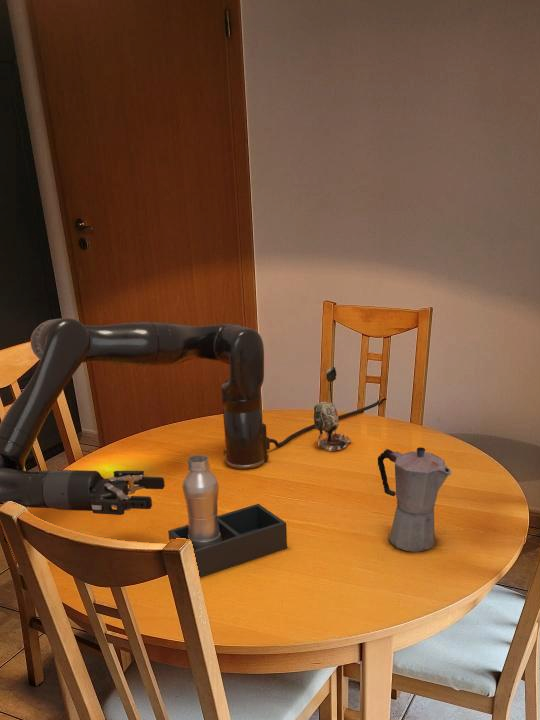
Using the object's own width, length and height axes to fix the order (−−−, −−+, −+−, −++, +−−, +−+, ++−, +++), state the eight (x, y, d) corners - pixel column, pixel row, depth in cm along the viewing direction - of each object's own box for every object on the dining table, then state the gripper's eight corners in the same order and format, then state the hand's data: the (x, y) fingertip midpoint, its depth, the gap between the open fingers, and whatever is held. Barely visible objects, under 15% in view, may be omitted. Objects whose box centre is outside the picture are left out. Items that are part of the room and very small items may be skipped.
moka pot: (437, 561, 148) (443, 463, 139) (363, 542, 155) (364, 447, 146) (456, 540, 155) (463, 445, 146) (384, 523, 162) (387, 431, 153)
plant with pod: (304, 447, 201) (302, 370, 192) (337, 436, 207) (337, 361, 198) (324, 456, 195) (324, 377, 186) (358, 445, 201) (359, 368, 192)
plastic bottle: (188, 548, 153) (179, 452, 144) (223, 546, 154) (216, 450, 145) (187, 565, 147) (177, 466, 138) (223, 563, 148) (216, 464, 139)
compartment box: (170, 556, 152) (168, 530, 150) (259, 528, 162) (258, 503, 159) (195, 579, 144) (192, 552, 142) (287, 548, 154) (286, 522, 151)
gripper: (55, 488, 140) (144, 490, 138) (84, 457, 152) (166, 459, 150) (62, 525, 143) (149, 528, 141) (89, 492, 156) (169, 494, 154)
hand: (157, 492), depth 146 cm, fingers open, 8 cm apart
